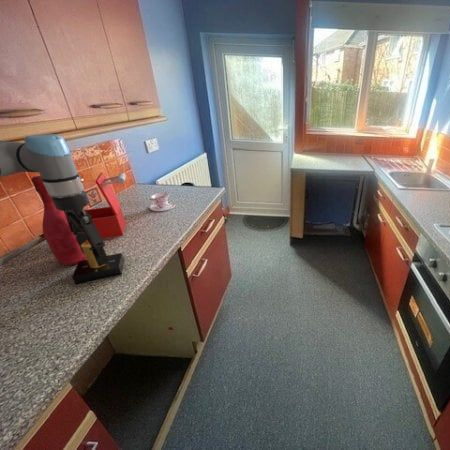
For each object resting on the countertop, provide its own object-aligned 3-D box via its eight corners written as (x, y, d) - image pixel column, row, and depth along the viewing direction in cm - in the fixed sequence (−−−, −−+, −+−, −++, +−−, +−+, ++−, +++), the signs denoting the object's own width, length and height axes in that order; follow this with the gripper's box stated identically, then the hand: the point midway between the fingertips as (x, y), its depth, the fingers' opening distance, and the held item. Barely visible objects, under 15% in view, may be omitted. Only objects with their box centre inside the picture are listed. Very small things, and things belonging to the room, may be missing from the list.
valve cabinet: (82, 242, 97) (73, 222, 93) (88, 228, 107) (80, 210, 102) (123, 235, 103) (116, 216, 99) (125, 223, 112) (119, 205, 108)
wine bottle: (52, 269, 83) (5, 182, 69) (66, 252, 91) (26, 172, 77) (87, 264, 86) (49, 180, 71) (98, 248, 94) (65, 171, 80)
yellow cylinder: (109, 263, 82) (100, 241, 78) (93, 270, 79) (83, 248, 75) (103, 258, 84) (94, 237, 80) (87, 264, 81) (77, 243, 77)
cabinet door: (94, 181, 91) (120, 175, 94) (100, 172, 100) (123, 167, 103) (115, 215, 99) (137, 209, 101) (118, 204, 108) (139, 199, 110)
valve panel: (75, 284, 77) (71, 277, 75) (82, 268, 84) (78, 260, 82) (121, 274, 82) (118, 267, 80) (124, 259, 89) (121, 252, 87)
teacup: (171, 200, 136) (168, 190, 133) (179, 207, 128) (176, 196, 126) (146, 206, 129) (143, 194, 126) (153, 214, 121) (150, 202, 118)
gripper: (102, 199, 67) (126, 264, 77) (68, 181, 78) (93, 241, 88) (67, 208, 61) (98, 277, 72) (36, 187, 72) (67, 250, 83)
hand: (95, 257), depth 80 cm, fingers open, 10 cm apart
